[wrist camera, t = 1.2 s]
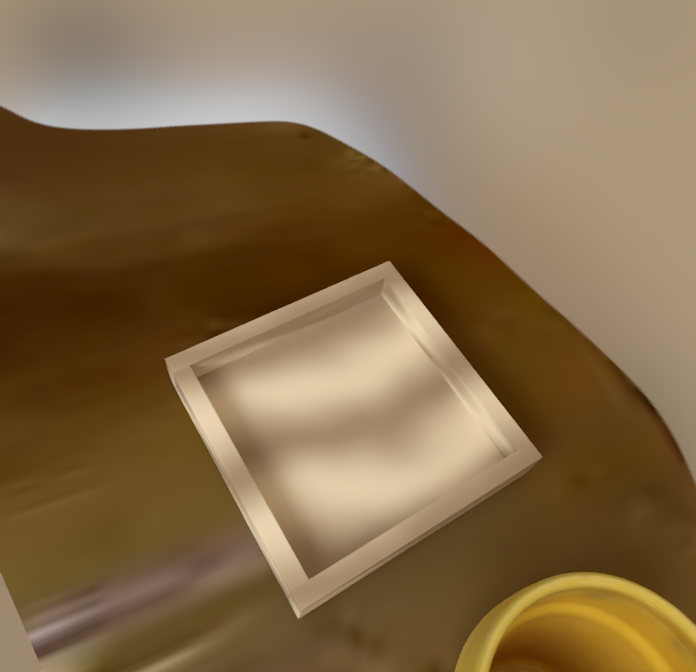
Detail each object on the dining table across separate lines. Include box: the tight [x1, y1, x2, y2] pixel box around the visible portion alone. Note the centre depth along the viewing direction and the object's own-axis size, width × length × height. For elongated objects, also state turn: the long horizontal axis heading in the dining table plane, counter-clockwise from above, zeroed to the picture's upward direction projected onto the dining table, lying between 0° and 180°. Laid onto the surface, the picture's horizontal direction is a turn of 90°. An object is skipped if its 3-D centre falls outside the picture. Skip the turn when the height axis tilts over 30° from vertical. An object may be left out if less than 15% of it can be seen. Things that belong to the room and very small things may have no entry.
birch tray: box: [165, 261, 542, 619], centre depth 36 cm, size 15×15×2 cm
